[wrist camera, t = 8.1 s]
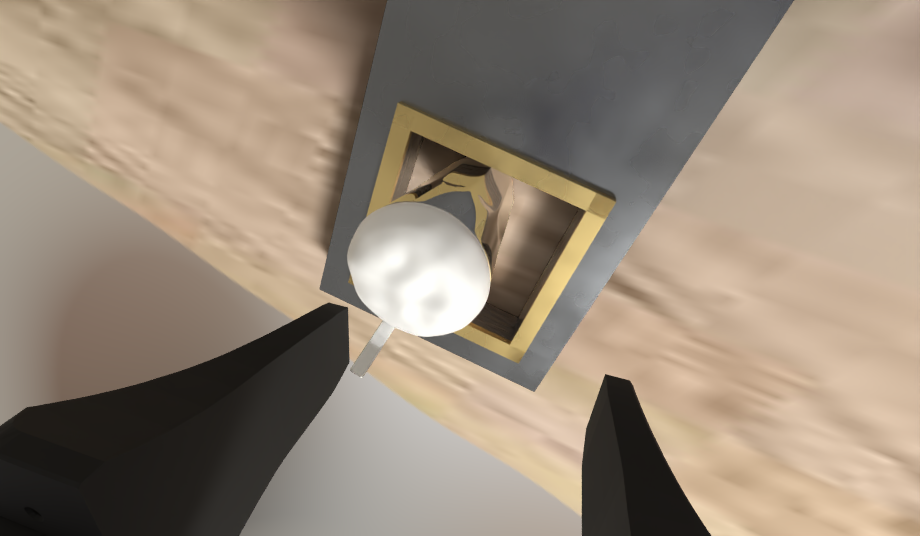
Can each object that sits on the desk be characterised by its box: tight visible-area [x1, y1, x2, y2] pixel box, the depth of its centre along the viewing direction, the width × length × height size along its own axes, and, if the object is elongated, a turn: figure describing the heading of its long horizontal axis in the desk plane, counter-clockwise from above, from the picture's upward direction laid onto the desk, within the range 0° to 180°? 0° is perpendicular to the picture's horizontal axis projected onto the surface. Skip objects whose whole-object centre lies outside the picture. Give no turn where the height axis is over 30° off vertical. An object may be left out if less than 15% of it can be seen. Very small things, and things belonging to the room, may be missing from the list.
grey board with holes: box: [320, 0, 794, 392], centre depth 18 cm, size 12×26×2 cm, turn 160°
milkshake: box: [347, 157, 514, 377], centre depth 17 cm, size 4×5×10 cm
